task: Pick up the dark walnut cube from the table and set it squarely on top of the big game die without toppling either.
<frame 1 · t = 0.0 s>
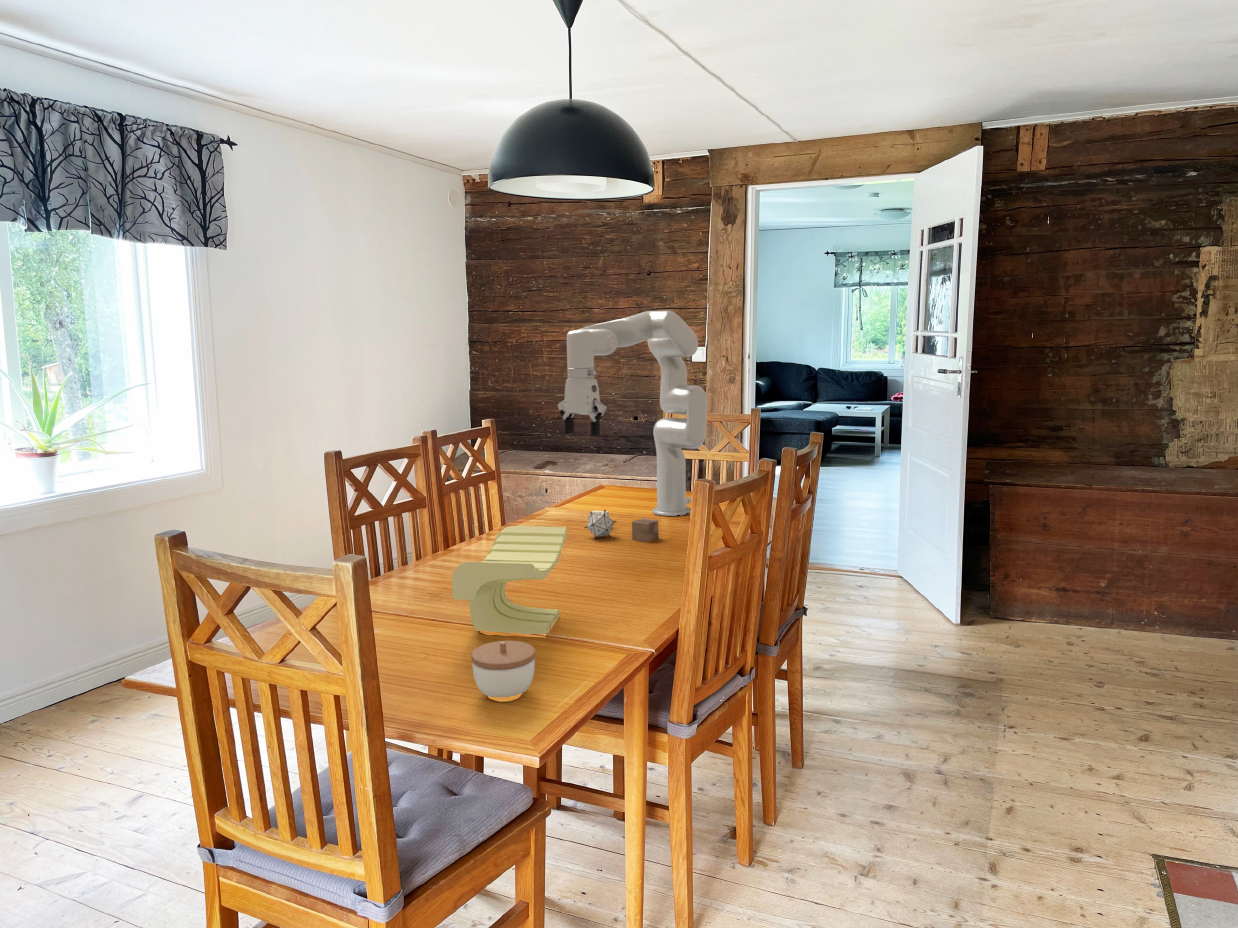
hand: (582, 434, 248), 31 cm above the table, tool pointing down, fingers open, 9 cm apart
walnut block: (645, 539, 253), on the table
birch block: (598, 528, 267), on the table
lidded jar: (505, 695, 147), on the table
game die: (600, 538, 255), on the table
slatted curved stool: (515, 626, 181), on the table
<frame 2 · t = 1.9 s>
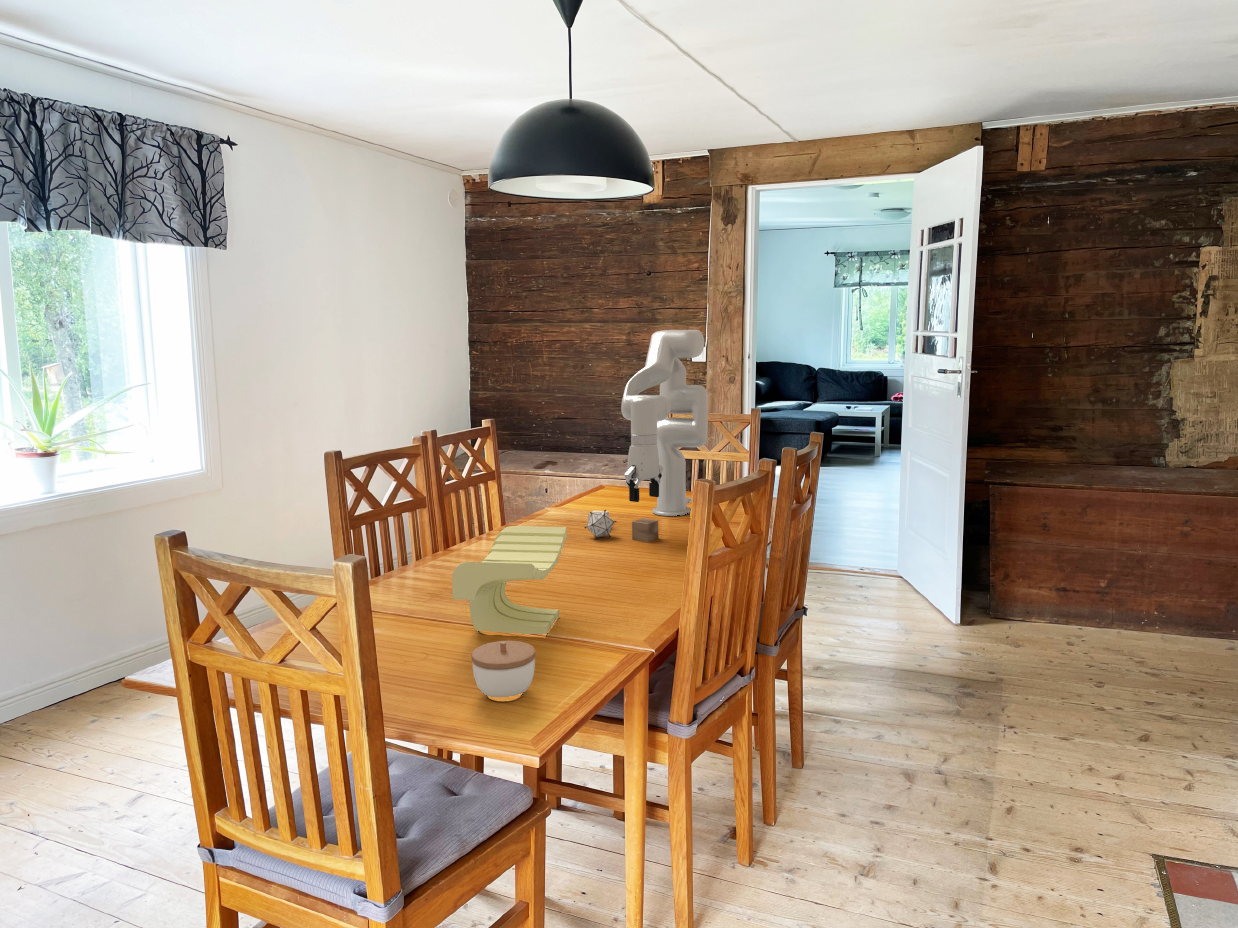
hand: (644, 499, 250), 12 cm above the table, tool pointing down, fingers open, 9 cm apart
nothing on the table moved.
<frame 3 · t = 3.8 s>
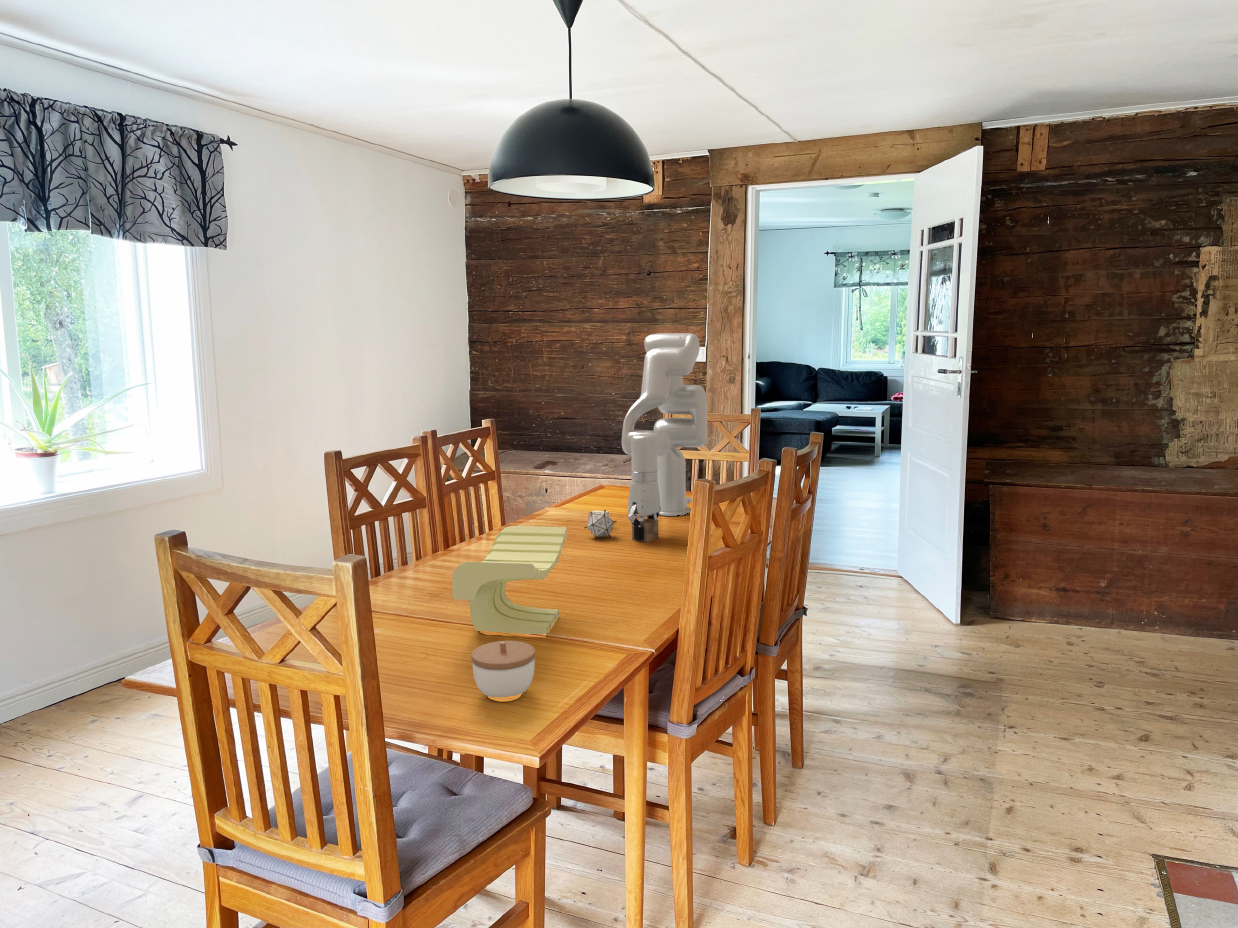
hand: (645, 537, 252), 1 cm above the table, tool pointing down, fingers closed on walnut block, 5 cm apart
walnut block: (645, 539, 253), on the table, touching gripper
everything else where it was.
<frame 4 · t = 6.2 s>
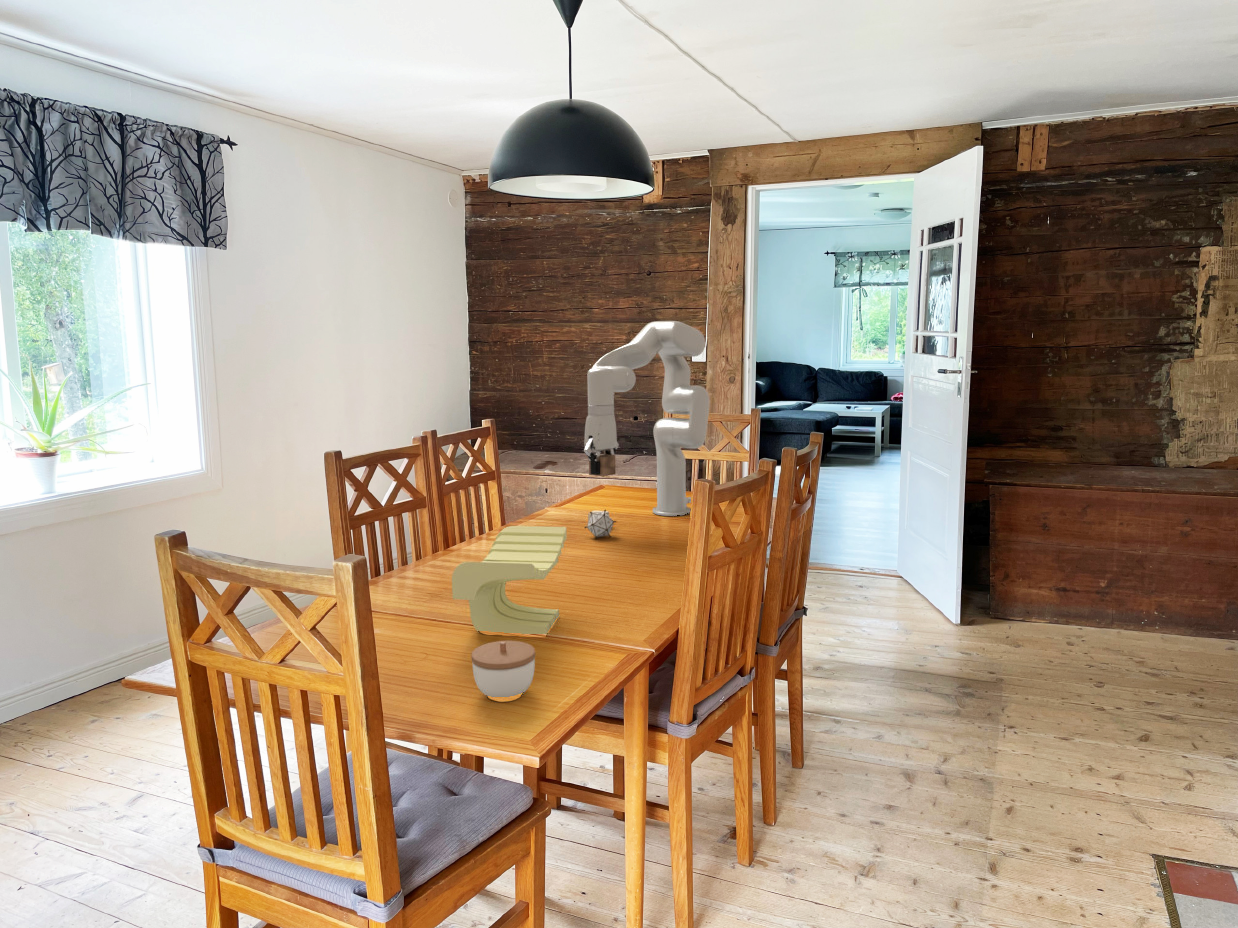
hand: (602, 472, 252), 20 cm above the table, tool pointing down, fingers closed on walnut block, 5 cm apart
walnut block: (602, 474, 252), point 19 cm above the table, touching gripper
everything else where it was.
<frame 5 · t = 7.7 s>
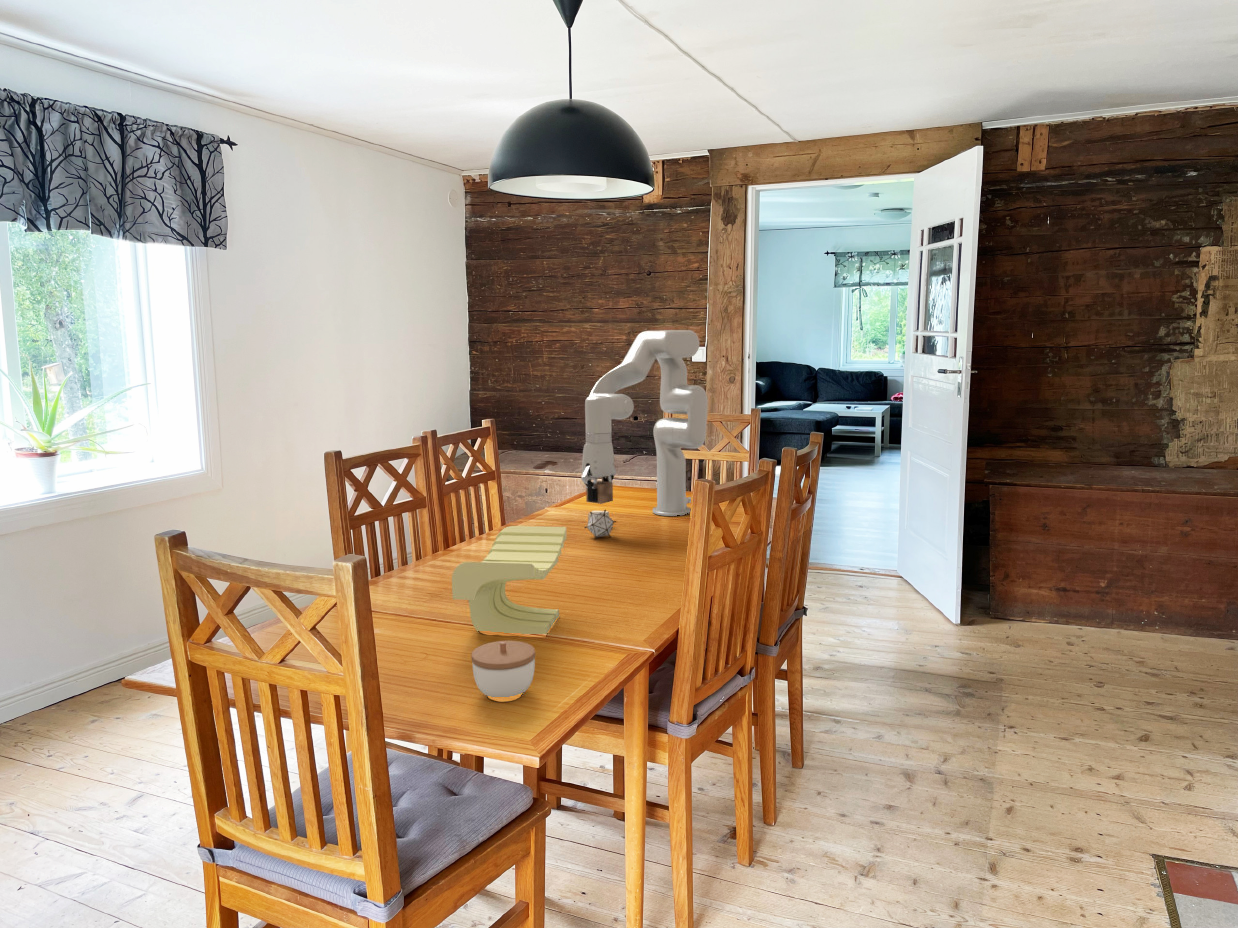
hand: (599, 499, 253), 12 cm above the table, tool pointing down, fingers closed on walnut block, 5 cm apart
walnut block: (599, 501, 253), point 11 cm above the table, touching gripper
everything else where it was.
when the fingers open (10 cm above the table, at t = 8.8 s): walnut block drops 2 cm, resting on game die.
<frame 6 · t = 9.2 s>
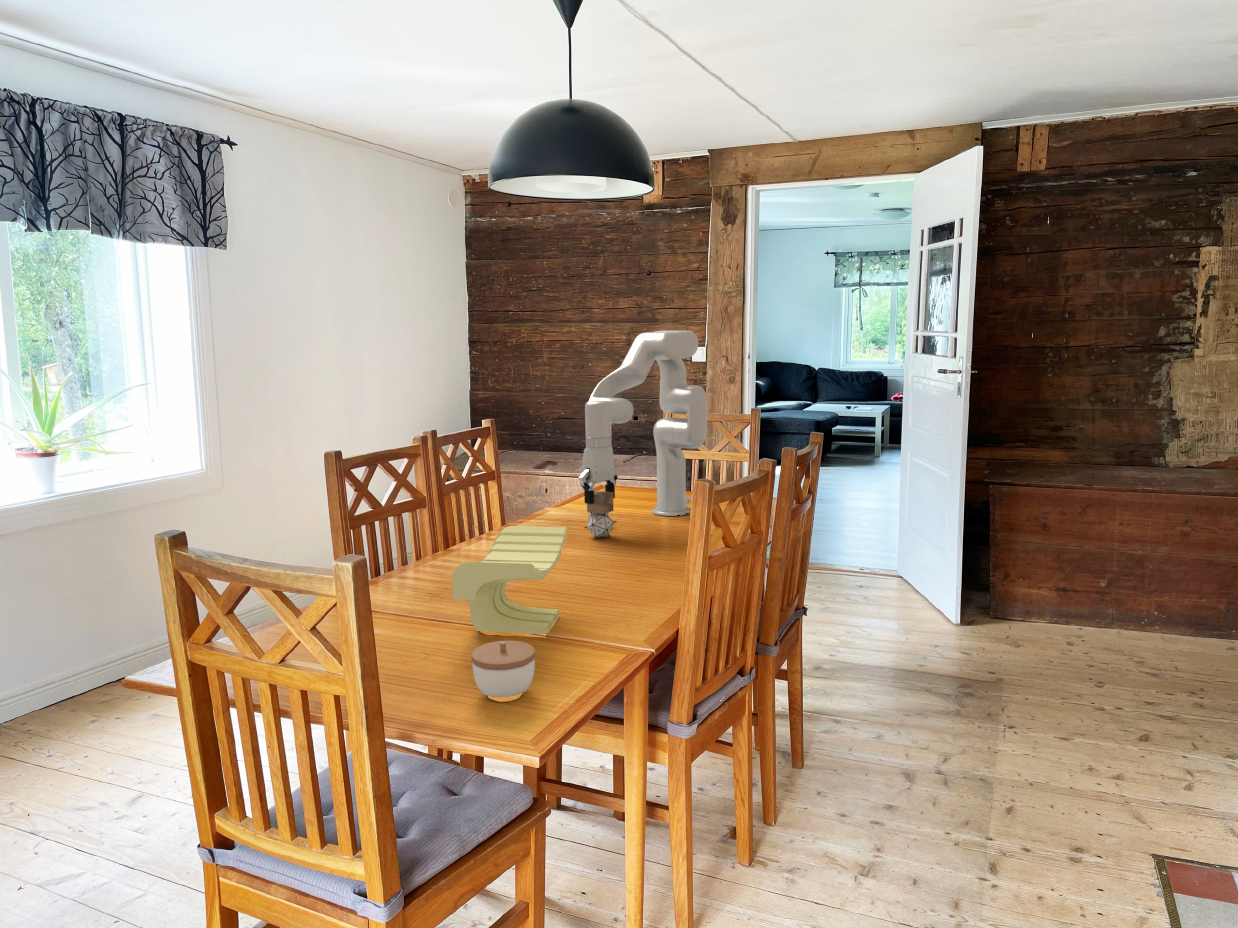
hand: (599, 500, 253), 11 cm above the table, tool pointing down, fingers open, 9 cm apart
walnut block: (600, 511, 254), point 8 cm above the table, touching game die
game die: (600, 538, 255), on the table, touching walnut block
everything else where it was.
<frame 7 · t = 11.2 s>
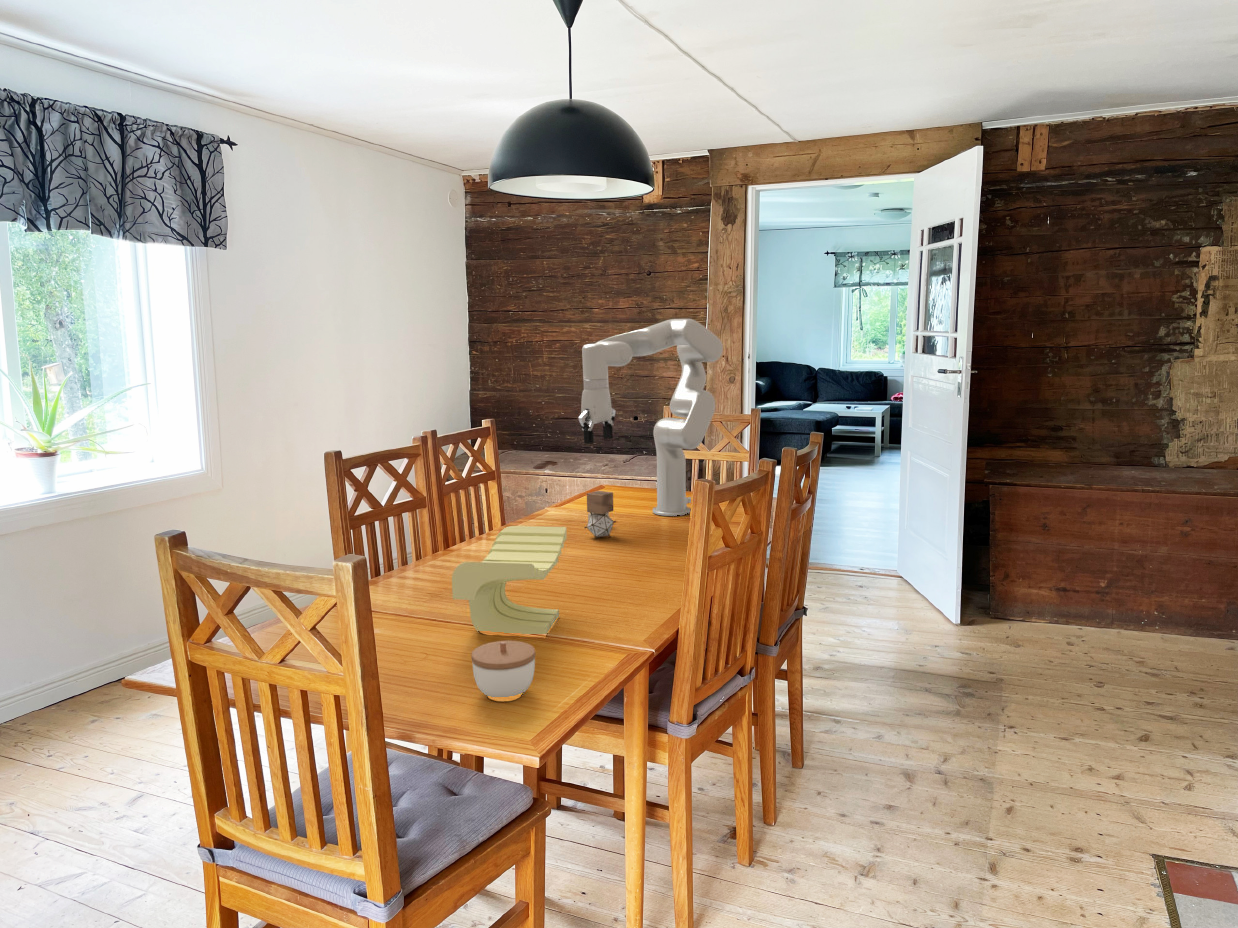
hand: (598, 441, 263), 27 cm above the table, tool pointing down, fingers open, 9 cm apart
nothing on the table moved.
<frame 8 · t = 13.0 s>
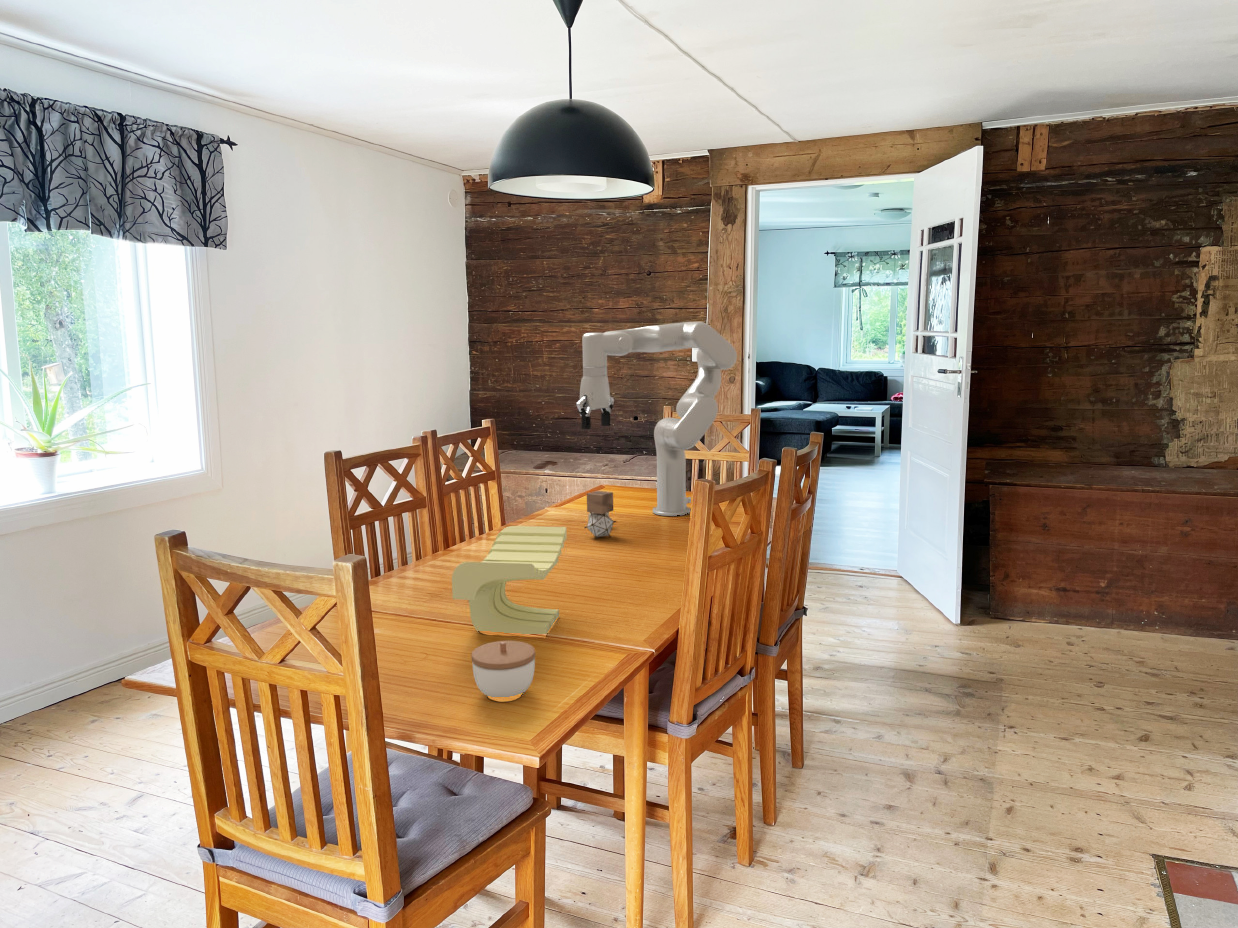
hand: (596, 427, 271), 30 cm above the table, tool pointing down, fingers open, 9 cm apart
nothing on the table moved.
at the end: walnut block 0.1 cm from the game die (horizontally); walnut block point 7.9 cm above the table; walnut block tilted 0° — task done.
